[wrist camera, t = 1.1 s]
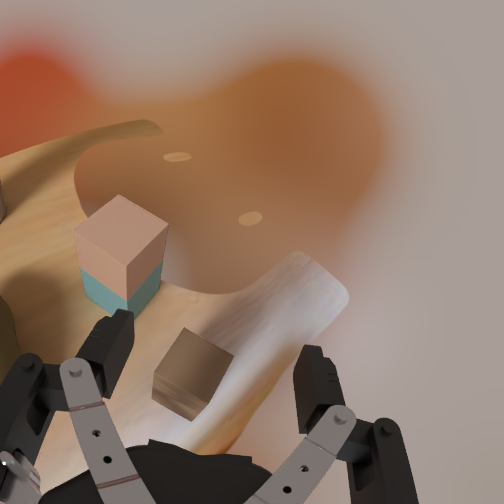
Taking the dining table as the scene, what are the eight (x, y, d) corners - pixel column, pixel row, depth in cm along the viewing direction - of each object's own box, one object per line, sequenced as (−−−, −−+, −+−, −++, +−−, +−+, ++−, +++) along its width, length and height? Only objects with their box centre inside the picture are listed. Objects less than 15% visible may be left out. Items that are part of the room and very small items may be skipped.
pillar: (151, 398, 29) (154, 371, 22) (173, 364, 33) (184, 327, 26) (191, 421, 29) (208, 403, 22) (211, 386, 32) (234, 355, 25)
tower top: (80, 267, 30) (73, 229, 26) (117, 232, 35) (118, 194, 31) (126, 301, 30) (126, 266, 25) (162, 260, 35) (169, 223, 30)
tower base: (86, 296, 34) (80, 267, 30) (118, 262, 39) (118, 232, 35) (128, 327, 34) (127, 301, 30) (158, 288, 39) (163, 260, 35)
